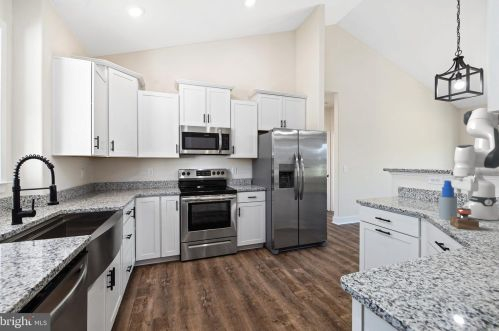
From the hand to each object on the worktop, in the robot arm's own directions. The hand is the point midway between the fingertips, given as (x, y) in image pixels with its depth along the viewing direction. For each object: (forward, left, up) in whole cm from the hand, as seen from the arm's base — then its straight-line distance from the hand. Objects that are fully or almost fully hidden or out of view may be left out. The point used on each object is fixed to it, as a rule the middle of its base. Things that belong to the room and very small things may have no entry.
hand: (463, 197), depth 128 cm
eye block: (0, 0, -17) cm, 17 cm away
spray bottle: (-20, +1, -17) cm, 27 cm away
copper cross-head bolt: (0, 0, -17) cm, 17 cm away
